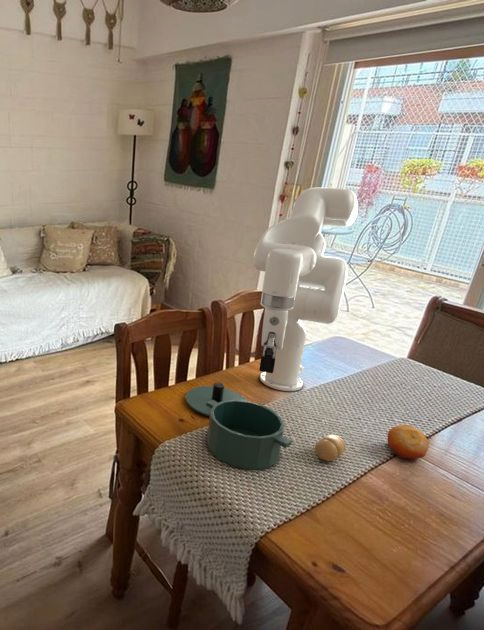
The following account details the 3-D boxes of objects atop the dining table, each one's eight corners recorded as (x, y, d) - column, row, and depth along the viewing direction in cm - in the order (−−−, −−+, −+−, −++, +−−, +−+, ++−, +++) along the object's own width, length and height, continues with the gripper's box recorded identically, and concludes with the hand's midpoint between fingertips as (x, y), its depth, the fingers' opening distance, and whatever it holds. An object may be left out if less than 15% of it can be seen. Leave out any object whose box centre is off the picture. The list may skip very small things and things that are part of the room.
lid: (211, 384, 139) (213, 366, 137) (261, 408, 125) (264, 388, 123) (172, 400, 129) (174, 381, 127) (222, 428, 116) (224, 407, 114)
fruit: (407, 435, 111) (425, 421, 105) (420, 466, 106) (439, 453, 99) (374, 433, 111) (389, 419, 105) (385, 464, 106) (401, 450, 100)
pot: (226, 417, 121) (229, 389, 118) (303, 458, 104) (309, 427, 101) (185, 437, 112) (187, 408, 109) (262, 486, 95) (267, 453, 92)
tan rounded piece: (326, 445, 109) (329, 428, 107) (347, 455, 105) (351, 438, 103) (309, 457, 104) (312, 439, 103) (330, 468, 101) (334, 450, 99)
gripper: (294, 312, 98) (282, 381, 103) (294, 293, 113) (284, 354, 118) (258, 307, 101) (248, 374, 106) (263, 290, 116) (254, 349, 121)
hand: (267, 364), depth 112 cm, fingers open, 9 cm apart
